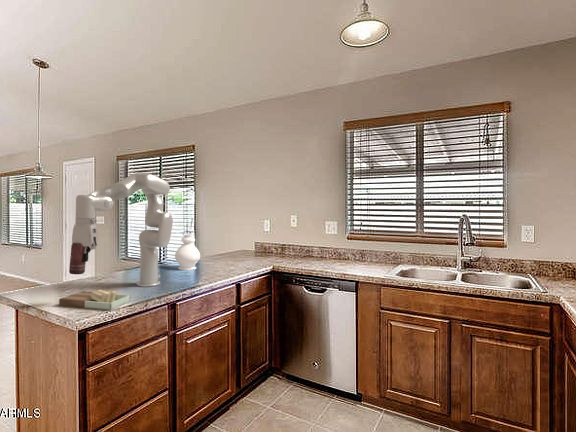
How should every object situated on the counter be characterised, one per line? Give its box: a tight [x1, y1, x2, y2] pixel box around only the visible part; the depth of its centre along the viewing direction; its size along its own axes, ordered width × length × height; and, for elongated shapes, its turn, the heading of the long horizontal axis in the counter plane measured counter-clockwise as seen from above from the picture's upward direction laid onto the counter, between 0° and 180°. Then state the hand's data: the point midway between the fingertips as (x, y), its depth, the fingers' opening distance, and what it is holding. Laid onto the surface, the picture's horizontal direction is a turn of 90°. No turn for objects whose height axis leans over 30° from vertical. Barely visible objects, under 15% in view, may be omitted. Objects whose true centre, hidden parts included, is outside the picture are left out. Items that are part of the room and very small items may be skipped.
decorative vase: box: [174, 233, 201, 271], centre depth 244 cm, size 18×18×25 cm
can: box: [68, 243, 87, 275], centre depth 154 cm, size 6×6×14 cm
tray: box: [84, 293, 131, 311], centre depth 153 cm, size 14×12×3 cm
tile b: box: [101, 289, 117, 303], centre depth 153 cm, size 5×5×3 cm
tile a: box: [91, 289, 106, 302], centre depth 153 cm, size 5×5×3 cm
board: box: [58, 290, 98, 309], centre depth 155 cm, size 14×12×3 cm
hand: (84, 261), depth 154 cm, fingers closed
